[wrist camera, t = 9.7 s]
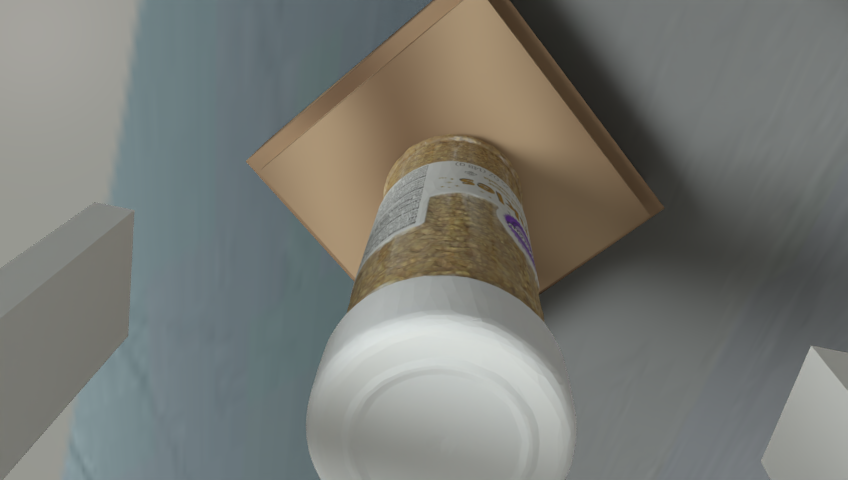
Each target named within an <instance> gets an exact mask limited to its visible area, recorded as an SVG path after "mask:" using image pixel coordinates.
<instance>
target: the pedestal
mask: <svg viewBox="0 0 848 480" xmlns="http://www.w3.org/2000/svg"><path fill="white" fill-rule="evenodd" d="M447 134H457V135H467V136H471V137H474V138H477V139H479V140H481V141H483V142H486V143H488V144H490V145H492V146H493V147H495V148H496V149H497V150H498V151H500V152H501V153H502V154H503V155H504V156H505V157H506V158H507V159H508V160H509V161H510V162H511V164H512V166H513V168H514V170H515V171H516V173H517V175H518V177H519V179H520V184H521V188H522V193H523V211H524V214H525V217H526V221H527V226H528V231H529V237H530V242H531V248H532V253H533V258H534V263H535V267H536V272H537V277H538V282H539V294H541V293H542V292H544V291H545V290H547V289H548V288H550V287H551V286H553V285H554V284H555V283H557V282H558V281H560V280H561V279H563V278H564V277H566V276H567V275H569V274H570V273H571V272H573V271H574V270H576V269H577V268H579V267H580V266H582V265H583V264H585V263H586V262H587V261H589V260H590V259H592V258H593V257H595V256H596V255H598V254H599V253H600V252H602V251H603V250H605V249H606V248H608V247H609V246H611V245H612V244H614V243H615V242H616V241H618V240H619V239H621V238H622V237H624V236H625V235H627V234H628V233H630V232H631V231H632V230H634V229H635V228H637V227H638V226H640V225H641V224H643V223H644V222H645V221H647V220H648V219H650V218H651V217H653V216H654V215H656V214H657V213H659V212H660V211H661V210H663V209H664V207H663V205H662V204H661V203H660V201H659V200H658V199H657V197H656V196H655V195H654V193H653V192H652V191H651V189H650V188H649V186H648V185H647V184H646V182H645V181H644V180H643V178H642V177H641V176H640V174H639V173H638V172H637V170H636V169H635V168H634V166H633V165H632V164H631V162H630V161H629V160H628V158H627V157H626V156H625V154H624V153H623V152H622V150H621V149H620V148H619V146H618V145H617V144H616V142H615V141H614V140H613V138H612V137H611V136H610V134H609V133H608V132H607V130H606V129H605V128H604V126H603V125H602V123H601V122H600V121H599V119H598V118H597V117H596V115H595V114H594V113H593V111H592V110H591V109H590V107H589V106H588V105H587V103H586V102H585V101H584V99H583V98H582V97H581V95H580V94H579V93H578V91H577V90H576V89H575V87H574V86H573V85H572V83H571V82H570V81H569V79H568V78H567V77H566V75H565V74H564V73H563V71H562V70H561V69H560V67H559V66H558V65H557V63H556V62H555V60H554V59H553V58H552V56H551V55H550V54H549V52H548V51H547V50H546V48H545V47H544V46H543V44H542V43H541V42H540V40H539V39H538V38H537V36H536V35H535V34H534V32H533V31H532V30H531V28H530V27H529V26H528V24H527V23H526V22H525V20H524V19H523V18H522V16H521V15H520V14H519V12H518V11H517V10H516V8H515V7H514V6H513V4H512V3H511V1H510V0H433V1H431V2H430V3H429V4H428V5H427V6H426V7H424V8H423V9H422V10H421V11H420V12H418V13H417V14H416V15H415V16H414V17H413V18H411V19H410V20H409V21H408V22H407V23H405V24H404V25H403V26H402V27H401V28H400V29H398V30H397V31H396V32H395V33H394V34H392V35H391V36H390V37H389V38H388V39H387V40H385V41H384V42H383V43H382V44H381V45H380V46H378V47H377V48H376V49H375V50H374V51H372V52H371V53H370V54H369V55H368V56H367V57H365V58H364V59H363V60H362V61H361V62H359V63H358V64H357V65H356V66H355V67H354V68H352V69H351V70H350V71H349V72H348V73H346V74H345V75H344V76H343V77H342V78H341V79H339V80H338V81H337V82H336V83H335V84H334V85H332V86H331V87H330V88H329V89H328V90H326V91H325V92H324V93H323V94H322V95H321V96H319V97H318V98H317V99H316V100H315V101H313V102H312V103H311V104H310V105H309V106H308V107H306V108H305V109H304V110H303V111H302V112H300V113H299V114H298V115H297V116H296V117H295V118H293V119H292V120H291V121H290V122H289V123H288V124H286V125H285V126H284V127H283V128H282V129H280V130H279V131H278V132H277V133H276V134H275V135H273V136H272V137H271V138H270V139H269V140H267V141H266V142H265V143H264V144H263V145H262V146H261V147H260V148H259V149H258V150H257V151H256V152H255V153H254V154H253V155H252V156H251V157H250V158H249V159H248V160H247V161H246V162H247V163H248V164H249V165H250V167H251V168H252V169H253V170H254V171H255V172H256V173H257V174H258V175H259V176H260V178H261V179H262V180H263V181H264V182H265V183H266V184H267V185H268V186H269V188H270V189H271V190H272V191H273V192H274V193H275V194H276V195H277V196H278V198H279V199H280V200H281V201H282V202H283V203H284V204H285V205H286V206H287V208H288V209H289V210H290V211H291V212H292V213H293V214H294V215H295V216H296V217H297V219H298V220H299V221H300V222H301V223H302V224H303V225H304V226H305V227H306V229H307V230H308V231H309V232H310V233H311V234H312V235H313V236H314V237H315V239H316V240H317V241H318V242H319V243H320V244H321V245H322V246H323V247H324V248H325V250H326V251H327V252H328V253H329V254H330V255H331V256H332V257H333V258H334V260H335V261H336V262H337V263H338V264H339V265H340V266H341V267H342V268H343V270H344V271H345V272H346V273H347V274H348V275H349V276H350V277H351V278H352V279H353V281H354V282H355V278H356V275H357V272H358V269H359V266H360V264H361V261H362V258H363V255H364V252H365V248H366V245H367V242H368V239H369V236H370V233H371V230H372V227H373V224H374V221H375V218H376V215H377V212H378V209H379V207H380V205H381V203H382V201H383V191H384V186H385V183H386V179H387V176H388V174H389V172H390V170H391V169H392V167H393V165H394V164H395V163H396V161H397V160H398V159H399V158H400V157H401V156H402V155H403V154H404V153H405V152H406V151H407V150H408V148H410V147H412V146H413V145H416V144H418V143H420V142H421V141H424V140H427V139H429V138H432V137H436V136H442V135H447Z"/></svg>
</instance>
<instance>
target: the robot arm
mask: <svg viewBox="0 0 848 480" xmlns="http://www.w3.org/2000/svg"><path fill="white" fill-rule="evenodd" d="M133 225H134V210H131V209H126V208H121V207H116V206H111V205H106V204H101V203H96V202H94V203H93V204H91V205H90V206H88V207H87V208H86V209H84V210H83V211H81V212H80V213H78V214H77V215H75V216H74V217H73V218H71V219H70V220H68V221H67V222H66V223H64V224H63V225H61V226H60V227H59V228H57V229H56V230H54V231H53V232H51V233H50V234H48V235H47V236H46V237H44V238H43V239H41V240H40V241H39V242H37V243H36V244H34V245H33V246H31V247H30V248H28V249H27V250H26V251H24V252H23V253H21V254H20V255H18V256H17V257H16V258H14V259H13V260H11V261H10V262H9V263H7V264H6V265H4V266H3V267H1V268H0V480H3V479H4V478H5V476H6V475H7V474H8V473H9V472H10V471H11V470H12V469H13V467H14V466H15V465H16V464H17V463H18V461H19V460H20V459H21V458H22V457H23V456H24V455H25V453H27V451H28V450H29V449H30V448H31V447H32V446H33V444H34V443H35V442H36V441H37V440H38V439H39V438H40V436H41V435H42V434H43V433H44V432H45V431H46V430H47V428H48V427H49V426H50V425H51V424H52V423H53V421H54V420H55V419H56V418H57V417H58V416H59V414H60V413H61V412H62V411H63V410H64V409H65V408H66V406H67V405H68V404H69V403H70V402H71V401H72V400H73V398H74V397H75V396H76V395H77V394H78V393H79V392H80V390H81V389H82V388H83V387H84V386H85V385H86V384H87V382H88V381H89V380H90V379H91V378H92V377H93V375H94V374H95V373H96V372H97V371H98V370H99V369H100V367H101V366H102V365H103V364H104V363H105V362H106V361H107V359H108V358H109V357H110V356H111V355H112V354H113V352H114V351H115V350H116V349H117V348H118V347H119V346H120V344H121V343H122V342H123V341H124V340H125V339H126V338H127V336H128V326H129V306H130V286H131V266H132V245H133ZM761 463H762V464H763V466H764V468H765V470H766V472H767V474H768V476H769V478H770V480H848V353H846V352H841V351H836V350H831V349H826V348H821V347H816V346H811V347H810V349H809V352H808V354H807V356H806V359H805V361H804V363H803V365H802V368H801V370H800V372H799V375H798V377H797V379H796V382H795V384H794V386H793V389H792V391H791V393H790V396H789V398H788V400H787V402H786V405H785V407H784V409H783V412H782V414H781V416H780V419H779V421H778V423H777V426H776V428H775V430H774V432H773V435H772V437H771V439H770V442H769V444H768V446H767V449H766V451H765V453H764V456H763V458H762V460H761Z"/></svg>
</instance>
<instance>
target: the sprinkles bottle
mask: <svg viewBox="0 0 848 480" xmlns="http://www.w3.org/2000/svg"><path fill="white" fill-rule="evenodd" d="M306 433H307V442H308V448H309V453H310V456H311V459H312V461H313V464H314V467H315V469H316V471H317V473H318V475H319V477H320V479H321V480H565V478H566V476H567V474H568V472H569V470H570V468H571V464H572V460H573V456H574V451H575V446H576V436H577V424H576V413H575V407H574V402H573V396H572V391H571V386H570V381H569V377H568V373H567V369H566V365H565V362H564V359H563V355H562V353H561V350H560V348H559V346H558V344H557V342H556V340H555V338H554V336H553V335H552V333H551V332H550V330H549V329H548V327H547V326H546V324H545V323H544V315H543V311H542V308H541V304H540V299H539V282H538V277H537V272H536V267H535V263H534V258H533V253H532V248H531V242H530V237H529V231H528V226H527V221H526V217H525V214H524V211H523V193H522V188H521V184H520V179H519V177H518V175H517V173H516V171H515V170H514V168H513V166H512V164H511V162H510V161H509V160H508V159H507V158H506V157H505V156H504V155H503V154H502V153H501V152H500V151H498V150H497V149H496V148H495V147H493V146H492V145H490V144H488V143H486V142H483V141H481V140H479V139H477V138H474V137H471V136H467V135H457V134H447V135H442V136H436V137H432V138H429V139H427V140H424V141H421V142H420V143H418V144H416V145H413V146H412V147H410V148H408V150H407V151H406V152H405V153H404V154H403V155H402V156H401V157H400V158H399V159H398V160H397V161H396V163H395V164H394V165H393V167H392V169H391V170H390V172H389V174H388V176H387V179H386V183H385V186H384V191H383V201H382V203H381V205H380V207H379V209H378V212H377V215H376V218H375V221H374V224H373V227H372V230H371V233H370V236H369V239H368V242H367V245H366V248H365V252H364V255H363V258H362V261H361V264H360V266H359V269H358V272H357V275H356V278H355V282H354V285H353V289H352V293H351V298H350V304H349V307H348V310H347V314H346V315H345V316H344V317H343V319H342V320H341V321H340V322H339V324H338V325H337V327H336V328H335V330H334V331H333V333H332V334H331V336H330V338H329V341H328V343H327V345H326V348H325V350H324V353H323V356H322V359H321V362H320V365H319V368H318V371H317V374H316V378H315V381H314V384H313V387H312V391H311V394H310V399H309V403H308V407H307V418H306Z"/></svg>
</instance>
